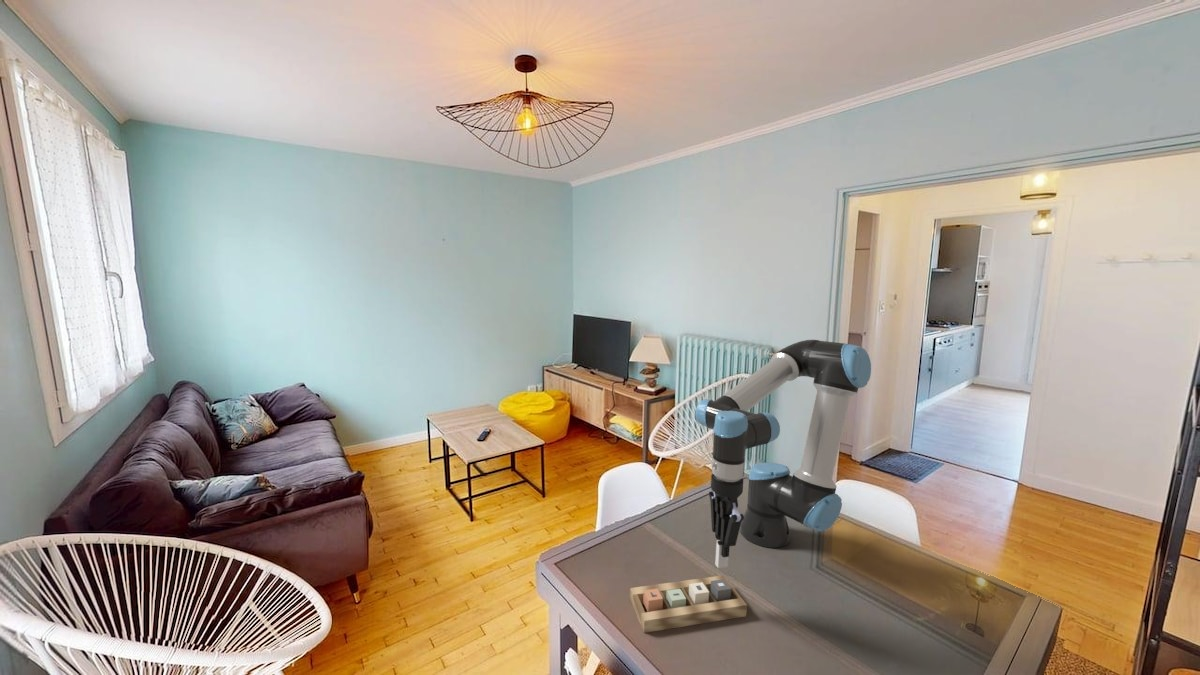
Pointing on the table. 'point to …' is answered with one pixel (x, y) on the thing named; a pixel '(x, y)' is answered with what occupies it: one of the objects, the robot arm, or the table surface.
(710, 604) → the keypad frame
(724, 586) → the charcoal key
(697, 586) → the cream key
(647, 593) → the terracotta key
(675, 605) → the sage key
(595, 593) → the table surface
